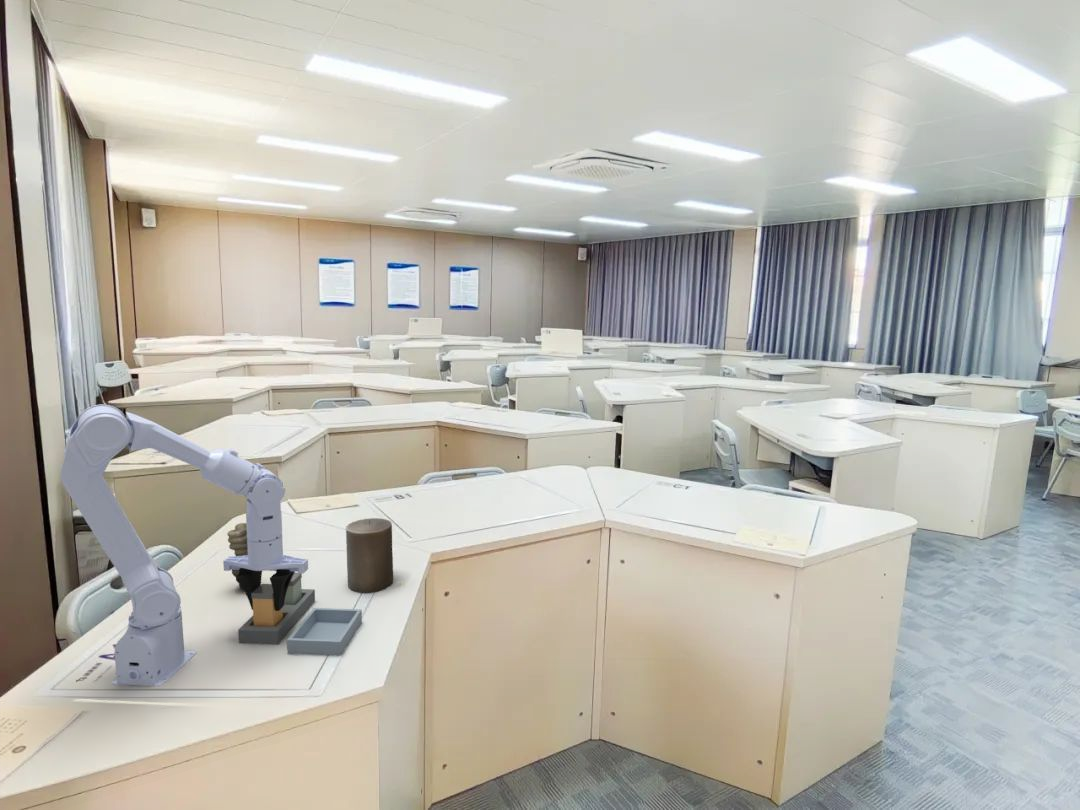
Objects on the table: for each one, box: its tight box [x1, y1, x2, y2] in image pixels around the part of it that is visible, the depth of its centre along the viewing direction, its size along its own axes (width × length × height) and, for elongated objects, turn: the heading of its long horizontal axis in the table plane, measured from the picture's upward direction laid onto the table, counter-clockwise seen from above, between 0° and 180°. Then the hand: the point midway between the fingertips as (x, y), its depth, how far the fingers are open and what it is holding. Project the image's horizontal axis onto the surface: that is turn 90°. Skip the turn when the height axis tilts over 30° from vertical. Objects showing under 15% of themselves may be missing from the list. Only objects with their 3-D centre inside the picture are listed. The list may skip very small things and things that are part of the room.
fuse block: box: [237, 588, 316, 645], centre depth 110 cm, size 16×7×3 cm, turn 179°
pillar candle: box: [345, 517, 394, 594], centre depth 126 cm, size 10×10×15 cm
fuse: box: [284, 572, 303, 605], centre depth 114 cm, size 4×4×7 cm
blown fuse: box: [251, 583, 283, 627], centre depth 106 cm, size 4×4×7 cm
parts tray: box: [286, 607, 363, 656], centre depth 105 cm, size 11×9×3 cm
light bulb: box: [226, 522, 248, 591], centre depth 122 cm, size 6×6×15 cm
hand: (267, 607), depth 106 cm, fingers closed on blown fuse, 4 cm apart
